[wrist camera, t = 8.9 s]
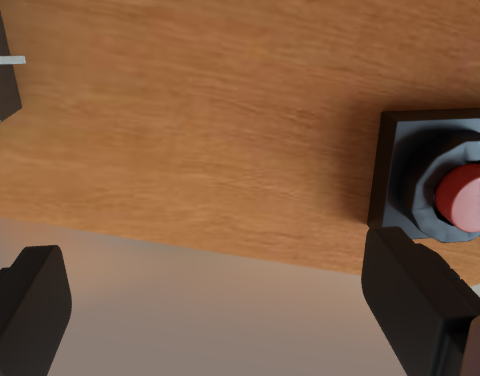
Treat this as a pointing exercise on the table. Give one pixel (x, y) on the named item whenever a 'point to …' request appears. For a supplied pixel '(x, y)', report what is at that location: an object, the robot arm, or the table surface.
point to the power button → (460, 197)
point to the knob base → (8, 78)
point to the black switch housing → (421, 169)
